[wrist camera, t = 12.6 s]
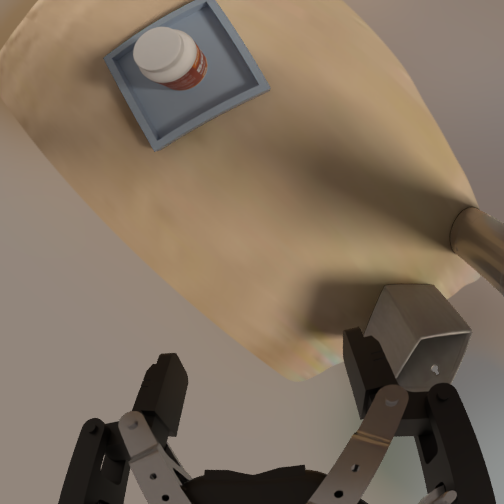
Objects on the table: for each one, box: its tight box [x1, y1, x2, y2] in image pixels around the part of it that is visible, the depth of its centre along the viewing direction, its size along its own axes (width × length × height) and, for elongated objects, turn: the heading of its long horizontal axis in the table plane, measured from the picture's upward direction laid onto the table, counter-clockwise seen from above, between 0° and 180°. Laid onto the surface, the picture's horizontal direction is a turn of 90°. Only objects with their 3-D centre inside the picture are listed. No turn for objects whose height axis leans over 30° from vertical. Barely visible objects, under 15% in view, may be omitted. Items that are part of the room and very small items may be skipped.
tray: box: [103, 0, 271, 152], centre depth 28 cm, size 16×16×2 cm
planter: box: [364, 284, 472, 392], centre depth 35 cm, size 16×8×19 cm, turn 130°
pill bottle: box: [133, 27, 208, 91], centre depth 24 cm, size 6×6×11 cm
